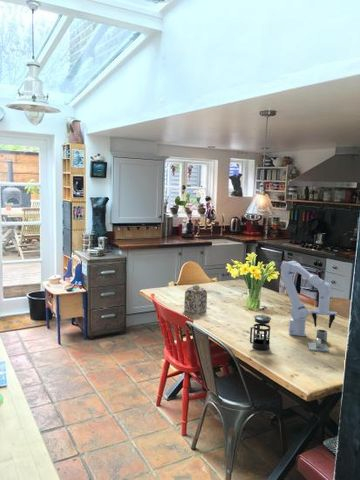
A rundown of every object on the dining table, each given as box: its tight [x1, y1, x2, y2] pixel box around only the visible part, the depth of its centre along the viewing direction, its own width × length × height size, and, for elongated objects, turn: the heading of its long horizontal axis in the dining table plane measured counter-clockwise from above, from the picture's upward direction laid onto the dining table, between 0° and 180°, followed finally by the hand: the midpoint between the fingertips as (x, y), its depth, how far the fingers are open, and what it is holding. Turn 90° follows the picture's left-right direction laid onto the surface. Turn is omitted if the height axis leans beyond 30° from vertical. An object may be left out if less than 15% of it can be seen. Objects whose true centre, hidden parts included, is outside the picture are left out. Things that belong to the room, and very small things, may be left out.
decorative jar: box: [183, 284, 208, 315], centre depth 281 cm, size 12×12×18 cm
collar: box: [315, 328, 328, 344], centre depth 231 cm, size 5×5×6 cm
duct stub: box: [307, 337, 330, 354], centre depth 221 cm, size 10×10×5 cm
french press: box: [249, 305, 272, 352], centre depth 219 cm, size 12×9×23 cm
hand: (322, 326), depth 230 cm, fingers open, 7 cm apart
